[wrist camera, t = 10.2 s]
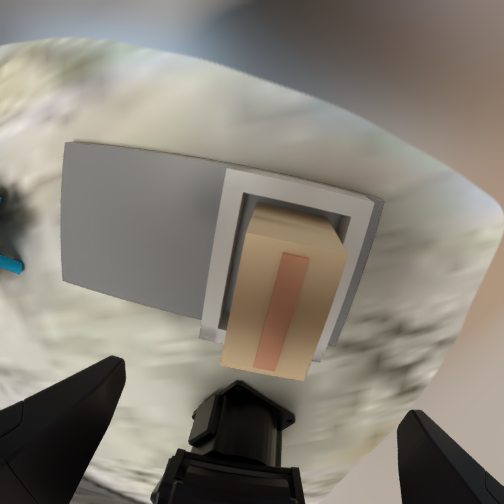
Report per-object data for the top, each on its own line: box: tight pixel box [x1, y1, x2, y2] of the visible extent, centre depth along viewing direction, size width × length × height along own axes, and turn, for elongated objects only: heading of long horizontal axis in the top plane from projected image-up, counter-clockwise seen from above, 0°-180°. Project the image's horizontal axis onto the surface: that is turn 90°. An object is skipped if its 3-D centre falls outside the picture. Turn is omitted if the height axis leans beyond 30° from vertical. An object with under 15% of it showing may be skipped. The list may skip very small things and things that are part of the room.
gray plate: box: [61, 142, 384, 362], centre depth 18 cm, size 20×10×3 cm, turn 79°
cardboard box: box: [220, 202, 348, 381], centre depth 16 cm, size 6×4×6 cm, turn 169°
